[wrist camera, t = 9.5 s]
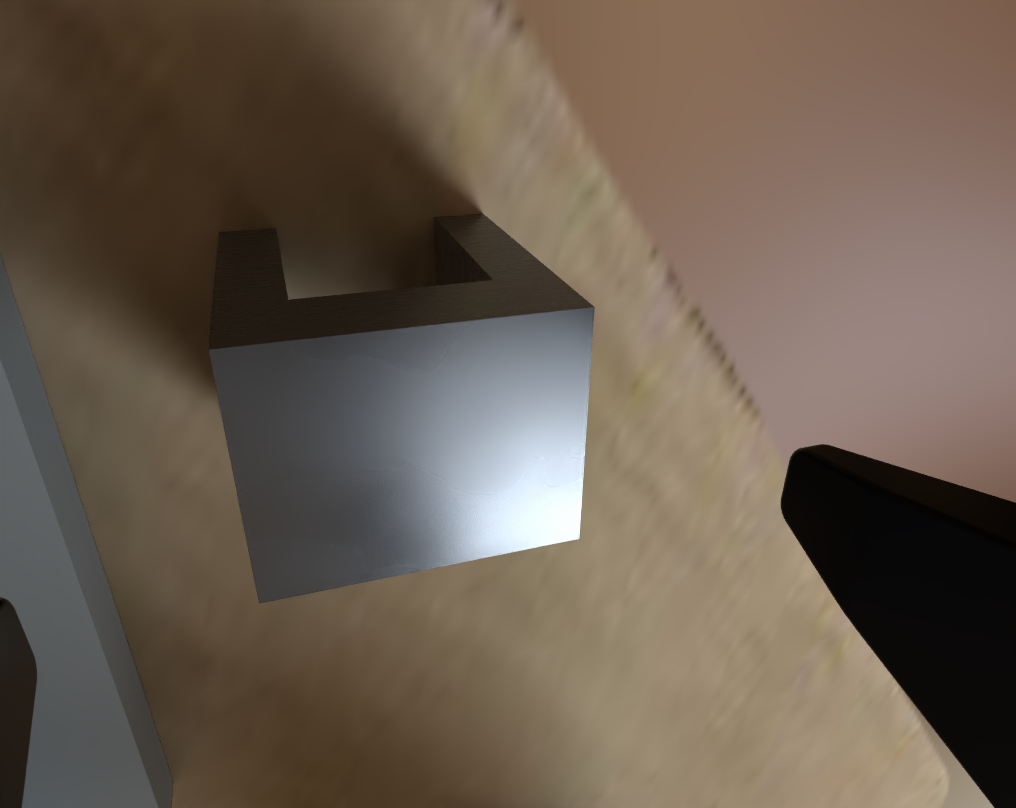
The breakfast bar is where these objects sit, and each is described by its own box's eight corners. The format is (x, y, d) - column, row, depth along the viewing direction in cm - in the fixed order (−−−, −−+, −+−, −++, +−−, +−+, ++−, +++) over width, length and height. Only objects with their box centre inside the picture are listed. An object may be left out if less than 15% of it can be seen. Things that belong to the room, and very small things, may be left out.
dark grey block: (483, 213, 15) (594, 306, 10) (484, 391, 17) (579, 538, 12) (219, 232, 13) (208, 350, 9) (253, 423, 15) (259, 603, 11)
